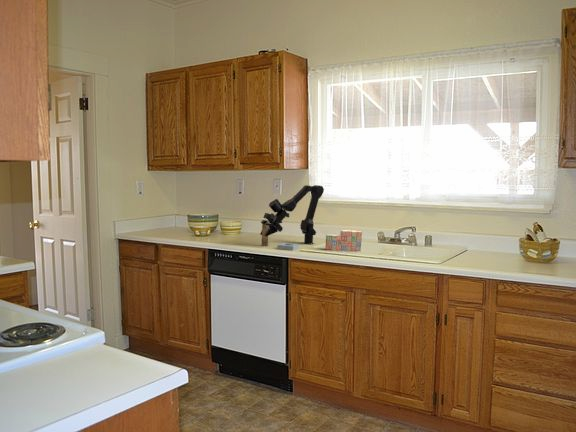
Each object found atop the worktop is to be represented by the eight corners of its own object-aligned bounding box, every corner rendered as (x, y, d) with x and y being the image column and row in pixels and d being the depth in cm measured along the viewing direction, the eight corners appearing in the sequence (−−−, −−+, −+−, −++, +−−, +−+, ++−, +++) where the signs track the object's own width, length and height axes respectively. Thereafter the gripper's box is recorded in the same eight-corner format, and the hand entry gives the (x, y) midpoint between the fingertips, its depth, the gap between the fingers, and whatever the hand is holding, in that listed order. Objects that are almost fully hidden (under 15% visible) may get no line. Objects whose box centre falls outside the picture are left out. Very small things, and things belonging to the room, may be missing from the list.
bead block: (283, 246, 324) (283, 242, 323) (298, 248, 320) (298, 244, 320) (277, 248, 314) (277, 244, 314) (293, 250, 311) (293, 246, 310)
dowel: (263, 245, 328) (263, 224, 327) (268, 245, 327) (269, 225, 326) (260, 245, 325) (261, 225, 324) (266, 246, 323) (267, 225, 322)
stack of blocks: (326, 250, 318) (327, 230, 317) (325, 248, 324) (326, 229, 323) (360, 251, 318) (361, 231, 317) (359, 250, 325) (360, 230, 324)
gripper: (264, 207, 334) (248, 224, 329) (279, 209, 318) (262, 228, 313) (274, 219, 339) (258, 236, 334) (289, 222, 323) (273, 240, 318)
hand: (263, 235), depth 325 cm, fingers open, 6 cm apart
